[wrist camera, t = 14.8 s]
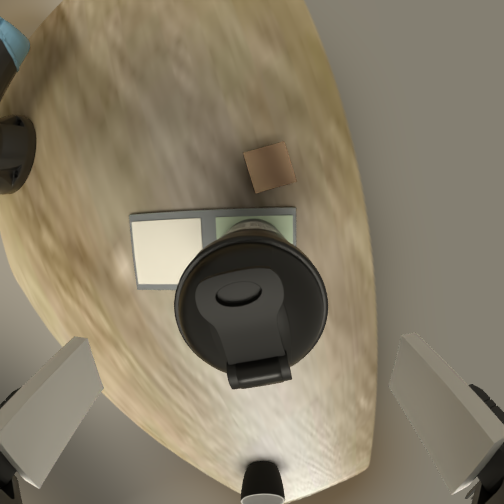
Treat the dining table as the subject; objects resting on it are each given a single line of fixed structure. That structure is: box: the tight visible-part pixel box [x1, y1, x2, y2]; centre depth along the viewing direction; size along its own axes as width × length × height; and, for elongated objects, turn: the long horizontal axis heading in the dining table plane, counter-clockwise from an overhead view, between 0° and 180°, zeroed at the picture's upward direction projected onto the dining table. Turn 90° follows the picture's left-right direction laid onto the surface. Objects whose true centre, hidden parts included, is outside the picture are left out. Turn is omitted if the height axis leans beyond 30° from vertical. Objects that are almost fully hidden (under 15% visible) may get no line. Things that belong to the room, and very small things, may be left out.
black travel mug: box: [174, 219, 328, 389], centre depth 26 cm, size 10×10×23 cm
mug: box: [241, 461, 285, 504], centre depth 44 cm, size 12×9×10 cm
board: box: [129, 207, 296, 290], centre depth 38 cm, size 23×11×1 cm, turn 92°
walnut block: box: [243, 141, 297, 194], centre depth 34 cm, size 5×5×5 cm
